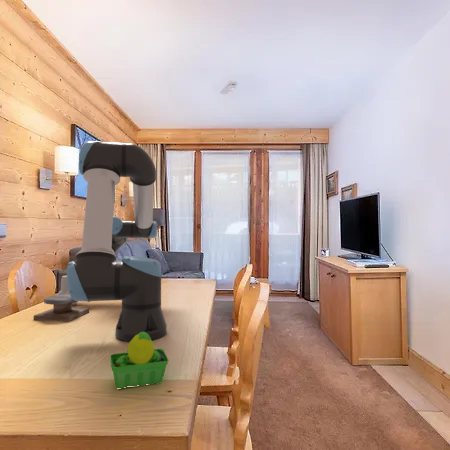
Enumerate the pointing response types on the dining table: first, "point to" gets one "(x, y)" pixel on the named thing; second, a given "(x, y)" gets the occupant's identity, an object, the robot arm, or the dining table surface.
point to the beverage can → (65, 287)
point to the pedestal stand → (61, 309)
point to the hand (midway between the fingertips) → (62, 297)
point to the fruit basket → (139, 363)
